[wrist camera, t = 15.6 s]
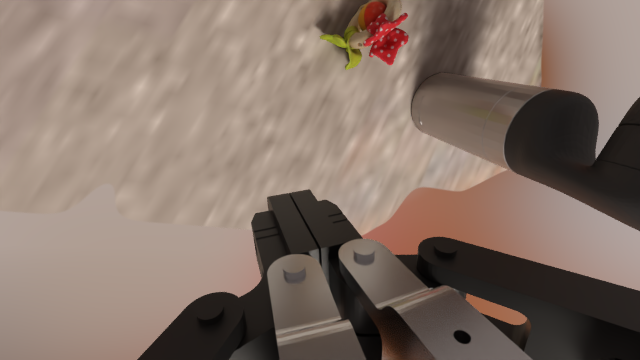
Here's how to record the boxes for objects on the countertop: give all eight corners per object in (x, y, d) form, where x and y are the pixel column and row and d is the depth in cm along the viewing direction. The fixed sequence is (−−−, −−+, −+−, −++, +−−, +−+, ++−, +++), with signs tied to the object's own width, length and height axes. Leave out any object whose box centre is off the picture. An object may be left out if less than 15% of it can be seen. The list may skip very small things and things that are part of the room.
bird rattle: (337, -4, 41) (307, 54, 40) (401, -56, 32) (367, 17, 30) (370, 29, 44) (345, 84, 42) (439, -9, 35) (409, 60, 33)
